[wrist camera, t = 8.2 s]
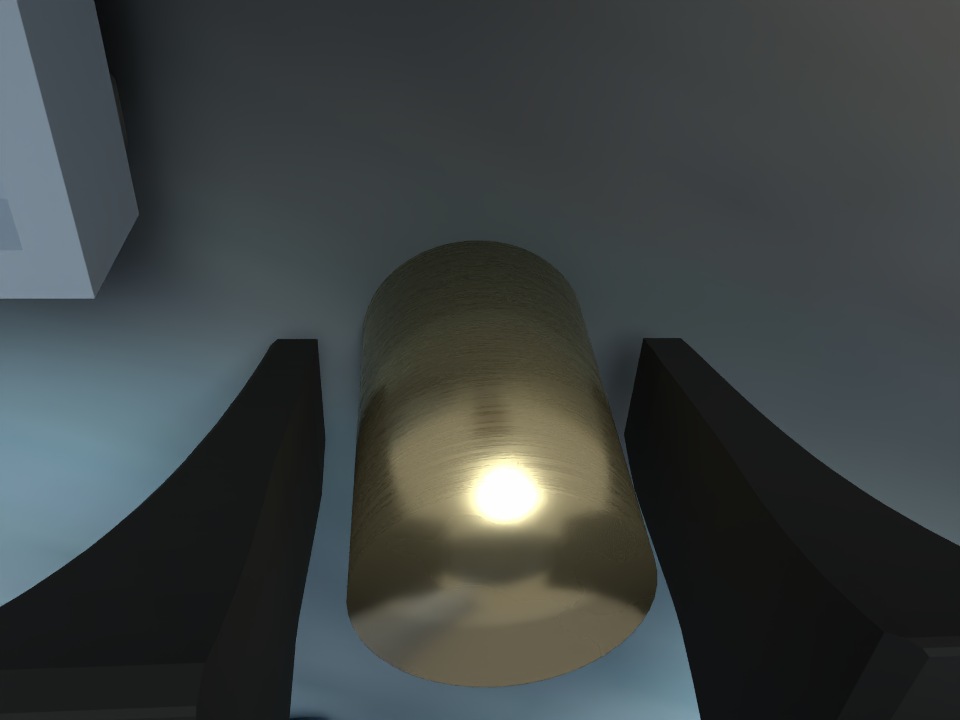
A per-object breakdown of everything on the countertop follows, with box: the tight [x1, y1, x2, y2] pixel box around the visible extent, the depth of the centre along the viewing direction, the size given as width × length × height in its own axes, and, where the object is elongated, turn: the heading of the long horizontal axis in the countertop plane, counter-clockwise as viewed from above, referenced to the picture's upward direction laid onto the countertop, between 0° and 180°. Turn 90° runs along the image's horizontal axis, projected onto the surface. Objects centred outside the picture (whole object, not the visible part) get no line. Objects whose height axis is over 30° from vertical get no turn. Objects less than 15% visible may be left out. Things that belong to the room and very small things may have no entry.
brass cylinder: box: [346, 241, 657, 687], centre depth 13 cm, size 4×4×6 cm
